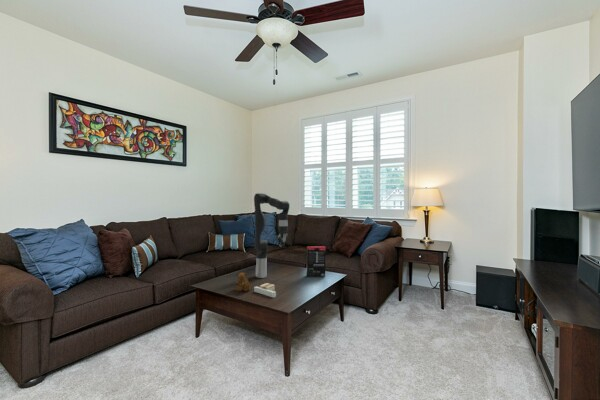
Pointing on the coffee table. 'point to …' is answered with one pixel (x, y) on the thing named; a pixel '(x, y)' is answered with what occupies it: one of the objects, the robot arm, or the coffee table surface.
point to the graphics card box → (316, 261)
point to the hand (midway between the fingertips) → (283, 246)
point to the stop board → (265, 291)
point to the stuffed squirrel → (242, 283)
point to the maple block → (268, 286)
